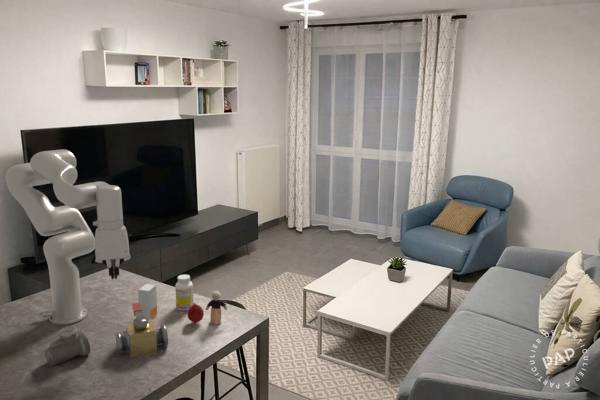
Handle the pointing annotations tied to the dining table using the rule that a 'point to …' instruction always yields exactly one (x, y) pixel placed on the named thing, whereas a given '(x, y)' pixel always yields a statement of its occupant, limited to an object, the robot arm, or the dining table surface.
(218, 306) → the grandmother figurine
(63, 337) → the pipe fitting
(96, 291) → the dining table surface
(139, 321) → the lever
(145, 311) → the skincare box
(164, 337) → the valve
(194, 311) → the onion
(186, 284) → the supplement bottle
